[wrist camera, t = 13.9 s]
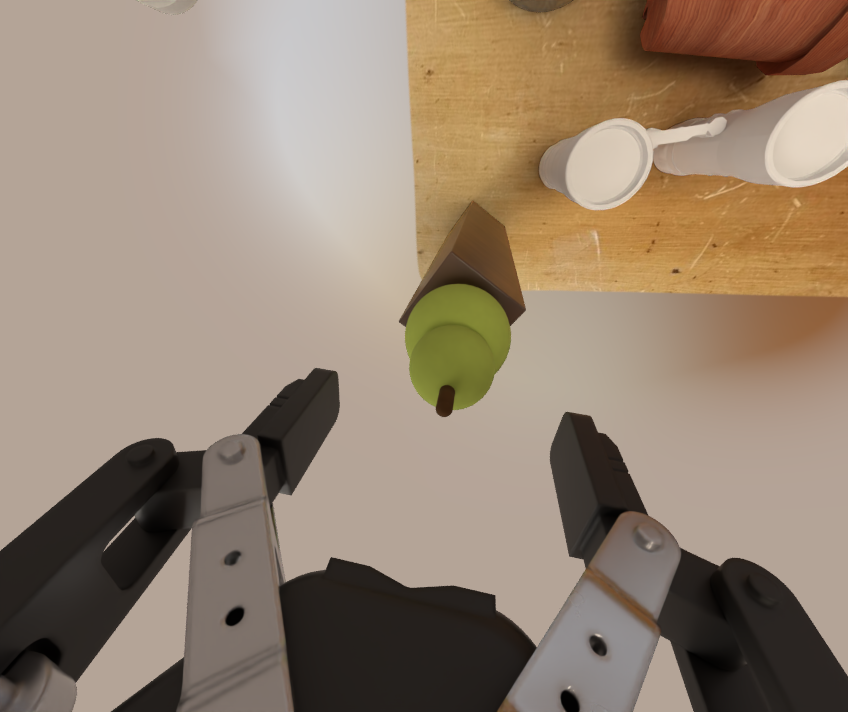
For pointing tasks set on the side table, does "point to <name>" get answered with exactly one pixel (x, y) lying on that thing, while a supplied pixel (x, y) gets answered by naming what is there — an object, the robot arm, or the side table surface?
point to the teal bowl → (540, 4)
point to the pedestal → (475, 263)
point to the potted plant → (752, 32)
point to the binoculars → (707, 148)
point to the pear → (456, 345)
